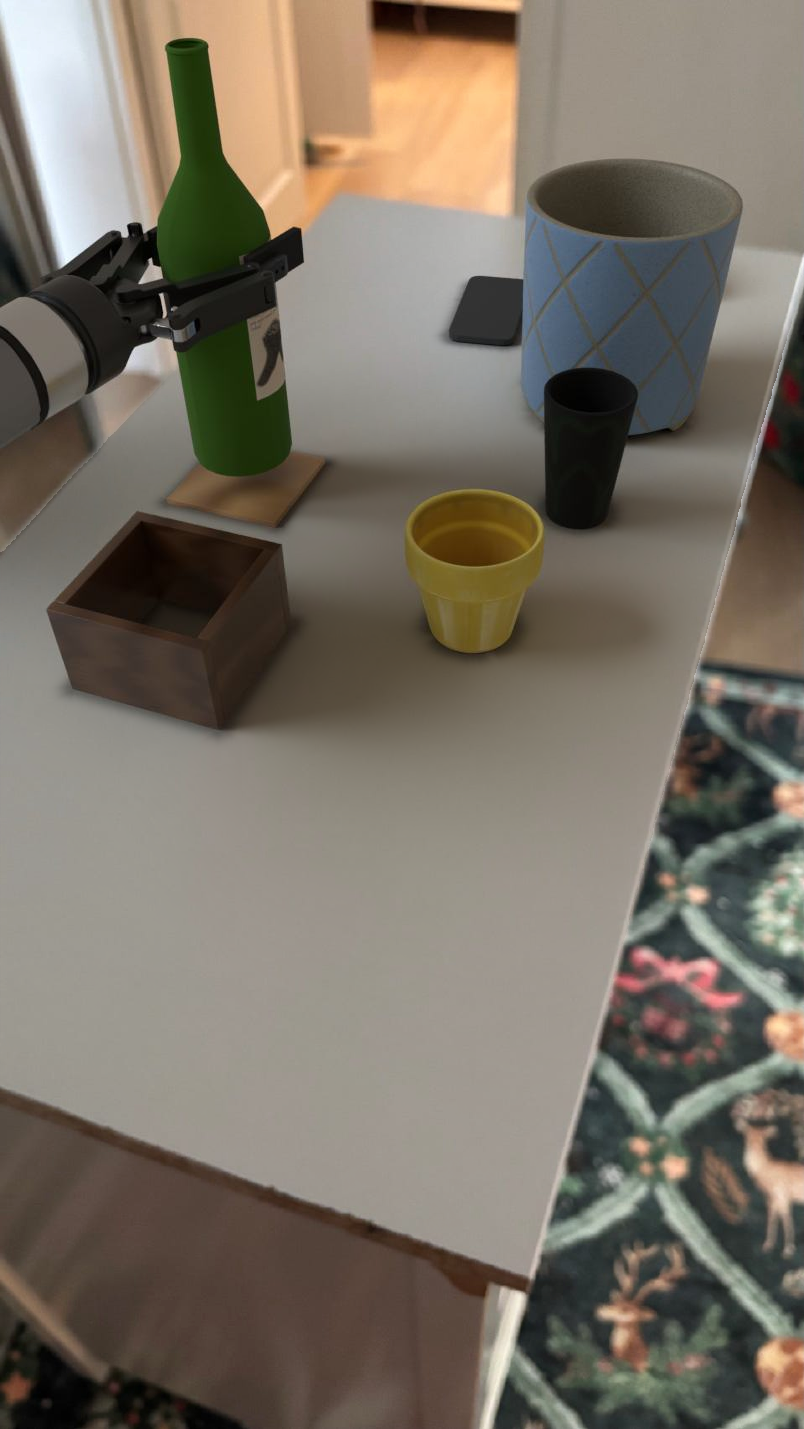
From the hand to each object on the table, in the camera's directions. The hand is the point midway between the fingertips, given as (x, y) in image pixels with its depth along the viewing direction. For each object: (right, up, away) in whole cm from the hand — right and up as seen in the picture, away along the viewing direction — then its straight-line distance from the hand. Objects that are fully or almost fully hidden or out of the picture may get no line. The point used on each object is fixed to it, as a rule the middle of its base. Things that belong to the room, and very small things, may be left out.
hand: (250, 232), depth 88 cm
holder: (-5, -35, -3) cm, 35 cm away
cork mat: (-2, -18, +13) cm, 22 cm away
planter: (+33, -7, +22) cm, 41 cm away
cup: (+28, -21, +9) cm, 36 cm away
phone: (+22, +7, +36) cm, 43 cm away
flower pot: (+18, -32, -1) cm, 37 cm away
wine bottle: (-2, -15, +10) cm, 19 cm away
